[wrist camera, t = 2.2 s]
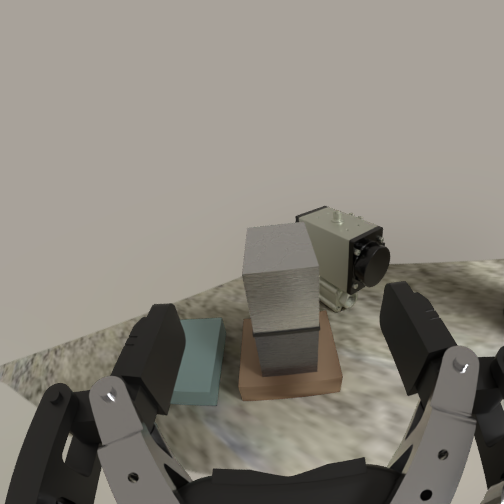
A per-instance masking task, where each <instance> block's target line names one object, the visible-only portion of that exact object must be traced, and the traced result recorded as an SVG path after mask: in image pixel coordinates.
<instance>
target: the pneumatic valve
mask: <svg viewBox="0 0 504 504" xmlns="http://www.w3.org/2000/svg"><path fill="white" fill-rule="evenodd" d="M297 222H304V223H305V226H306V229H307V232H308V235H309V238H310V240H311V243H312V246H313V249H314V252H315V255H316V258H317V261H318V264H319V276H320V277H319V300H320V301H321V302H322V303H324V304H325V305H327V306H328V307H329V308H331V309H332V310H333V311H335V312H339V311H340V310H341V308H342V307H345V308H346V309H347V308H350V307H352V306H353V305H354V304H355V302H356V300H357V297H358V294H357V291H359V290H360V289H362V288H363V287H365V286H367V287H373V286H375V285H376V284H378V283H379V282H380V281H381V279H382V278H383V277H384V275H385V273H386V271H387V269H388V266H389V262H390V252H389V249H388V248H387V247H385V243H383V241H384V238H383V237H382V234H383V228H382V227H380V226H377V225H374V224H372V223H370V222H367V221H364V220H363V217H361V216H359V217H355V215H354V214H353V213H349V214H346V213H343V212H341V211H338V210H335V209H332V208H330V207H327V206H323V207H321V208H317V209H315V210H312V211H309V212H306V213H303V214H301V215H298V216H296V222H295V223H297Z"/></svg>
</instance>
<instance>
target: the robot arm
mask: <svg viewBox="0 0 504 504" xmlns="http://www.w3.org/2000/svg"><path fill="white" fill-rule="evenodd" d="M380 327H381V330H382V333H383V335H384V337H385V340H386V342H387V344H388V347H389V349H390V351H391V354H392V356H393V359H394V361H395V364H396V366H397V369H398V371H399V374H400V376H401V379H402V382H403V384H404V387H405V390H406V392H407V395H408V396H409V395H413V394H416V393H418V394H419V397H420V399H419V401H418V403H417V406H416V409H415V411H414V414H413V416H412V419H411V421H410V424H409V426H408V429H407V431H406V433H405V435H404V438H403V440H402V442H401V444H400V446H399V448H398V449H397V451H396V452H395V454H394V455H393V457H392V459H391V460H390V462H389V464H388V466H387V467H384V466H379V465H372V464H366V462H365V457H363V458H358V459H353V460H348V461H343V462H337V463H331V464H327V465H324V466H321V467H319V468H316V469H313V470H310V471H307V472H304V473H301V474H298V475H294V476H289V477H287V476H280V475H274V474H268V473H263V472H258V471H253V470H234V469H213V474H212V476H208V477H204V478H200V479H197V480H195V481H192V479H191V478H190V476H189V475H188V474H187V472H186V471H185V470H184V469H183V468H182V466H181V465H180V464H179V463H178V461H177V460H176V458H175V456H174V455H173V453H172V451H171V450H170V448H169V446H168V444H167V443H166V441H165V439H164V437H163V435H162V434H161V432H160V430H159V428H158V426H157V424H156V423H155V418H156V415H157V414H160V415H168V411H169V407H170V403H171V399H172V395H173V391H174V387H175V383H176V380H177V376H178V372H179V368H180V365H181V361H182V357H183V354H184V350H185V346H186V337H185V332H184V330H183V327H182V324H181V322H180V319H179V316H178V314H177V311H176V308H175V306H174V305H173V304H172V303H170V304H154V305H153V306H152V307H151V310H150V311H149V313H148V316H147V317H143V318H142V319H141V320H140V321H138V322H137V323H136V324H135V325H134V327H133V329H132V331H131V333H130V335H129V338H128V339H127V341H126V343H125V346H124V347H123V350H122V352H121V354H120V356H119V358H118V360H117V362H116V365H115V367H114V369H113V371H112V373H111V375H110V376H107V377H104V378H101V379H99V380H98V381H97V382H96V383H95V384H94V385H93V386H92V388H91V390H87V391H80V392H72V390H71V389H70V388H69V387H68V386H67V385H66V384H63V383H57V384H54V385H52V386H51V387H49V388H48V389H47V390H46V392H45V393H44V395H43V397H42V399H41V401H40V404H39V406H38V408H37V411H36V413H35V415H34V418H33V420H32V422H31V425H30V427H29V429H28V432H27V435H26V437H25V440H24V443H23V445H22V448H21V451H20V453H19V456H18V459H17V462H16V465H15V469H14V472H13V475H12V478H11V482H10V486H9V489H8V493H7V497H6V502H5V504H94V499H95V494H96V490H97V485H98V480H99V476H100V471H101V467H102V468H103V470H104V473H105V476H106V478H107V481H108V483H109V486H110V488H111V491H112V493H113V495H114V498H115V500H116V502H117V504H450V503H451V501H452V499H453V497H454V494H455V492H456V489H457V487H458V484H459V482H460V479H461V476H462V473H463V470H464V468H465V464H466V461H467V458H468V455H469V452H470V448H471V444H472V441H473V437H474V436H475V440H476V443H477V446H478V450H479V454H480V458H481V461H482V465H483V469H484V474H485V479H486V484H487V488H488V491H487V493H486V494H485V497H484V500H483V501H482V502H481V503H480V504H504V410H503V408H502V406H501V403H500V402H501V401H502V400H503V399H504V346H503V347H501V348H500V349H499V351H498V353H497V354H496V356H495V357H477V356H476V354H475V353H474V352H473V351H472V350H471V349H469V348H467V347H464V346H458V345H457V344H456V342H455V340H454V339H453V337H452V336H451V334H450V332H449V331H448V329H447V328H446V326H445V324H444V323H443V321H442V320H441V318H439V315H438V314H437V312H436V311H434V308H433V306H432V305H431V303H430V302H429V300H428V299H427V298H425V297H424V296H423V295H421V294H420V293H418V292H416V293H414V292H413V291H412V289H411V288H410V286H409V285H408V283H407V282H406V281H401V282H395V283H388V284H386V286H385V289H384V295H383V301H382V306H381V311H380ZM69 433H71V434H72V435H73V438H72V441H71V444H70V447H69V450H68V454H67V457H66V461H65V463H64V462H63V459H62V452H63V449H64V446H65V443H66V440H67V437H68V434H69Z"/></svg>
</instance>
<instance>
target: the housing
mask: <svg viewBox="0 0 504 504" xmlns="http://www.w3.org/2000/svg"><path fill="white" fill-rule="evenodd" d="M242 276H243V281H244V286H245V291H246V297H247V302H248V307H249V312H250V317H251V322H252V327H253V333H252V335H253V337H255V342H256V347H257V352H258V357H259V362H260V367H261V371H262V376H263V377H271V376H283V375H293V374H303V373H311V372H317V368H318V344H319V331H320V323H319V264H318V261H317V258H316V255H315V252H314V249H313V246H312V243H311V240H310V238H309V235H308V232H307V229H306V226H305V223H304V222H297V223H288V224H279V225H270V226H261V227H253V228H248V229H247V235H246V244H245V254H244V263H243V272H242Z"/></svg>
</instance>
